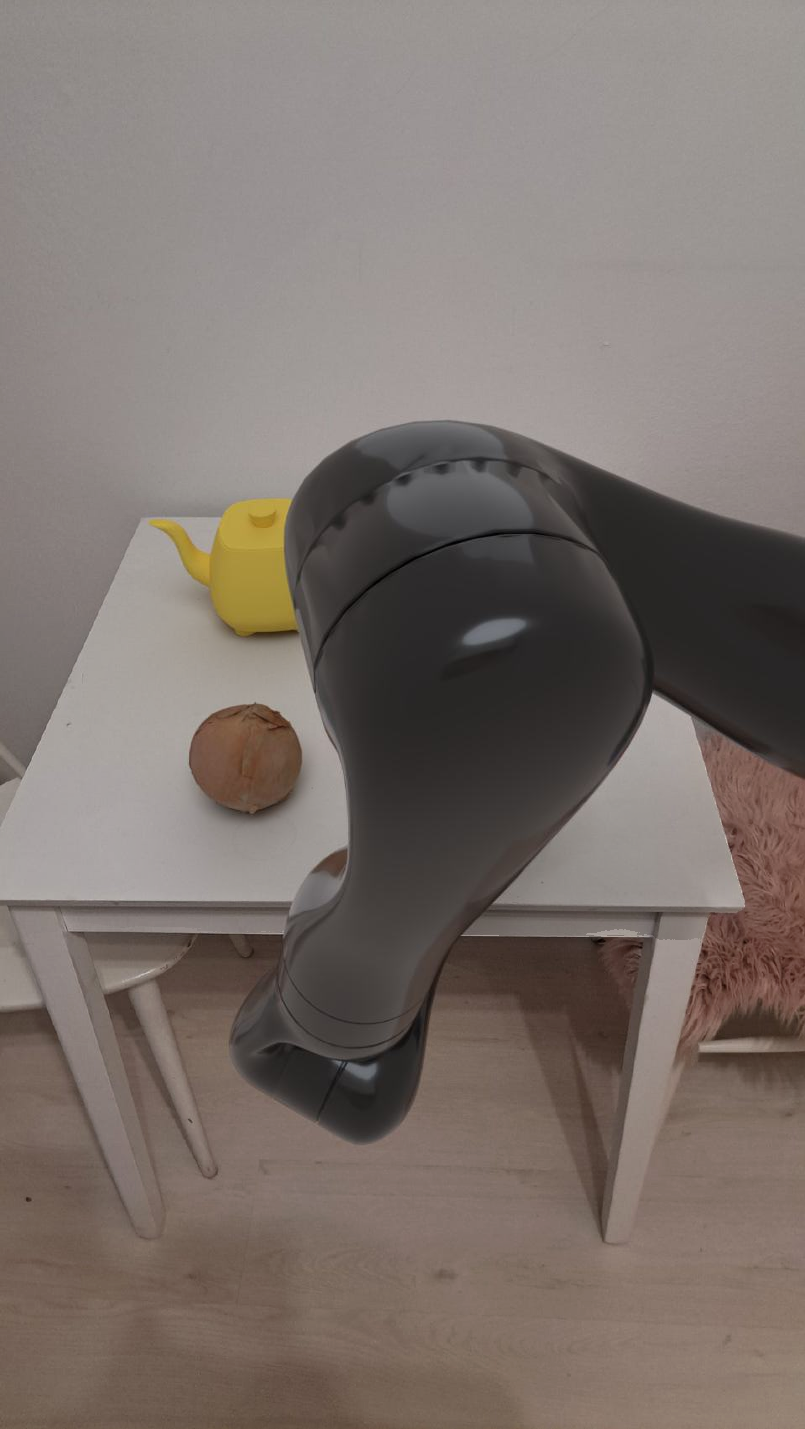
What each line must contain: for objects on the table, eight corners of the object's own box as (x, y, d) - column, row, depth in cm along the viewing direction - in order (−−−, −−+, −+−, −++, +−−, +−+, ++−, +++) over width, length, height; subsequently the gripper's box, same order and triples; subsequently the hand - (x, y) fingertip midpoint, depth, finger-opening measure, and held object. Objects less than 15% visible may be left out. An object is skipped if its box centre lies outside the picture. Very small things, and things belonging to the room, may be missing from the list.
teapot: (356, 644, 97) (348, 540, 88) (163, 655, 96) (136, 552, 87) (354, 568, 106) (346, 468, 98) (179, 577, 106) (156, 478, 97)
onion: (284, 786, 87) (313, 693, 82) (286, 845, 78) (318, 745, 74) (182, 765, 84) (207, 668, 80) (173, 824, 76) (200, 719, 72)
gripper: (554, 831, 56) (631, 662, 67) (352, 762, 61) (455, 615, 72) (543, 904, 61) (616, 735, 72) (358, 836, 66) (454, 687, 77)
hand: (536, 676), depth 72 cm, fingers closed
